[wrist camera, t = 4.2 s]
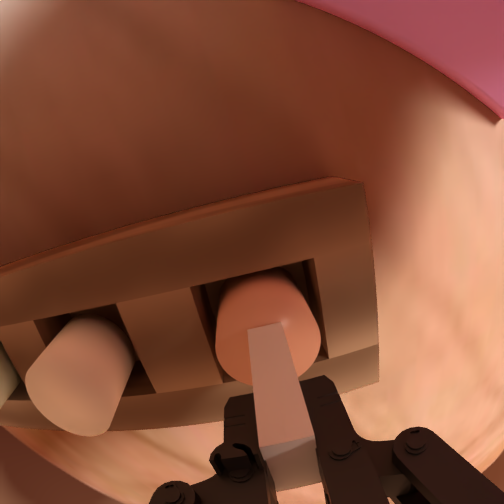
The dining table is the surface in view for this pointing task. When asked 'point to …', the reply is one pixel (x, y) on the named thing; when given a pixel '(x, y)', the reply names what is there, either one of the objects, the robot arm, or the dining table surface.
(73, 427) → the peach rounded knob
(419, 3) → the pink table lamp
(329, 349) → the brown wooden long block
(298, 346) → the button terracotta
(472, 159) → the dining table surface
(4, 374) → the button sage
